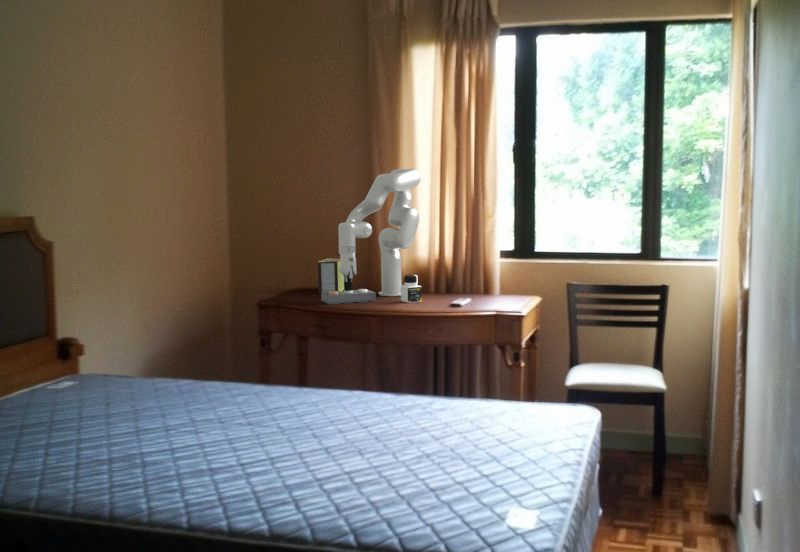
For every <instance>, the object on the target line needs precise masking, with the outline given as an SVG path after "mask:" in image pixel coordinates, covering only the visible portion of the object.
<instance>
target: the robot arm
mask: <svg viewBox="0 0 800 552" xmlns="http://www.w3.org/2000/svg"><path fill="white" fill-rule="evenodd" d="M421 179H422V176H421V173H420V172H419V171H418V170H417V169H415V168H397V169H393V170H391V172H390V173H382V174H378V175H377V176H376V178H375V179H374V181H373V183H372V185H371V187H370V189H369V190H368V193H367V195H366V196H365V198H364V200H363V201H361V202H360V203H359V204H358V205H357V206H356V207H354V209H352V210H351V212H350V213H349V215H348V216H347V219H346V220H345V222H340V223H339V224H338V254H339V255H340V257H339V259H340V272H341V274H343V277H344V290H345V291H351V290H353V283H352V282H353V278H354V276H356V275H357V257H356V252H357V251H356V247H357V246H356V239H366V238H369V237H370V236H371V234H372V233H373V227H372V225H371V224H370V223H369V222H367V221H363V220H364V219H365V218H366V217H368V216H369V215H372V214H373V213H375V212H377V211H380V210H381V209H382V208H383V205H384V204H385V201H386V199H387V197H388V196H389V194H390V193H394V197H393V202H392V204H391V207H390V209H389V213H388V218H387V221H388V224H389V225H390V226H392V227H386V228H383V229H382V230H381V231H380V232H379V234H378V244H379V249H380V261H381V262H380V266H381V267H380V269H381V291H379V292H378V295H379V296H380V297H401V285H403V284H402V282H403V281H402V278H403V277H402V254H401V252H400V250H407V249H408V248H410V247H411V246H412V244H413V242H414V240H415V236H416V233H417V230H418V227H419V224H420V213H419V211H418V209H416V208H414V207H413V206H412V207H411V204H412V200H413V196H412V193H411V190H410V189H414V188H416V187H417V186H418V185H419V184H420V182H421ZM395 227H396V228H395Z"/></svg>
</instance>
